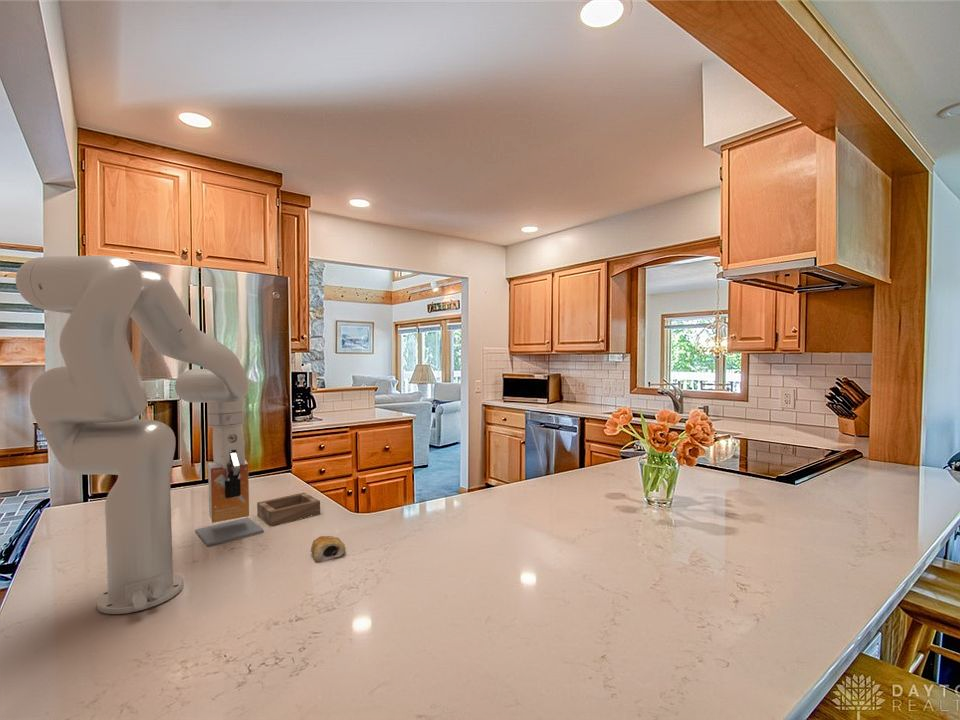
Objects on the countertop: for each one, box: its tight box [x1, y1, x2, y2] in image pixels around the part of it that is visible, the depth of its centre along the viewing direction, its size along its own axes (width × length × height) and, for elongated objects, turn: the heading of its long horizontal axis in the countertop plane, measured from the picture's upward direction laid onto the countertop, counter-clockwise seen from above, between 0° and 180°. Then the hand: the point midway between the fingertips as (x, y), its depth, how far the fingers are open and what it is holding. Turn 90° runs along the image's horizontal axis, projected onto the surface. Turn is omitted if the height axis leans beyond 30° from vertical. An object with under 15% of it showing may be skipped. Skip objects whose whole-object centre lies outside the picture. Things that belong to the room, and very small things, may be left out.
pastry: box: [310, 535, 346, 563], centre depth 103 cm, size 9×7×4 cm
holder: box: [256, 492, 321, 527], centre depth 127 cm, size 11×13×4 cm
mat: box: [194, 516, 264, 547], centre depth 115 cm, size 12×12×1 cm
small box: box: [207, 459, 250, 524], centre depth 115 cm, size 8×6×13 cm
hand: (228, 492), depth 115 cm, fingers closed on small box, 6 cm apart
